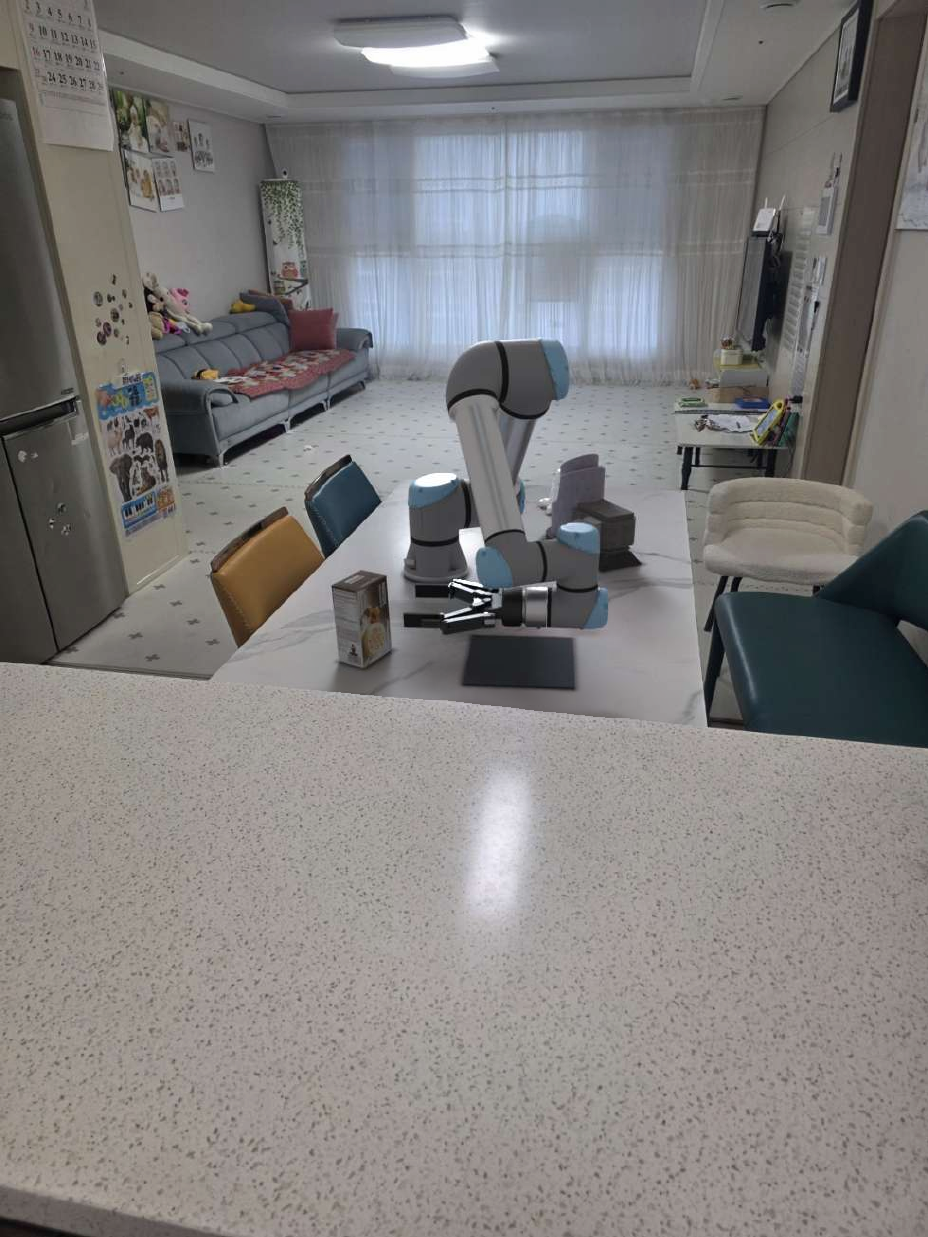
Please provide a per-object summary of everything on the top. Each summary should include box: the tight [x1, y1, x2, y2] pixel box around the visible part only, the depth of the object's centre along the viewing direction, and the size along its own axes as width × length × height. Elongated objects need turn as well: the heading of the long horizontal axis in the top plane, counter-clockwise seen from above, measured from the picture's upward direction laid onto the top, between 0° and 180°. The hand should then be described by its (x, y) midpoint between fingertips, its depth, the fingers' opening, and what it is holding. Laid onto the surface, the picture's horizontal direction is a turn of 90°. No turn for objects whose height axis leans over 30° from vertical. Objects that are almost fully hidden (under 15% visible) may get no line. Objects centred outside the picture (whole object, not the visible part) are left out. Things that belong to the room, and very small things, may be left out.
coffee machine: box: [540, 453, 643, 573], centre depth 206 cm, size 30×16×24 cm, turn 25°
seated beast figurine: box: [539, 468, 560, 515], centre depth 240 cm, size 10×9×12 cm
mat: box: [462, 634, 575, 690], centre depth 157 cm, size 20×20×1 cm
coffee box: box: [331, 569, 393, 669], centre depth 157 cm, size 9×6×16 cm
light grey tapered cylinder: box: [446, 594, 483, 622], centre depth 174 cm, size 11×8×8 cm
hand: (409, 604), depth 154 cm, fingers open, 13 cm apart
